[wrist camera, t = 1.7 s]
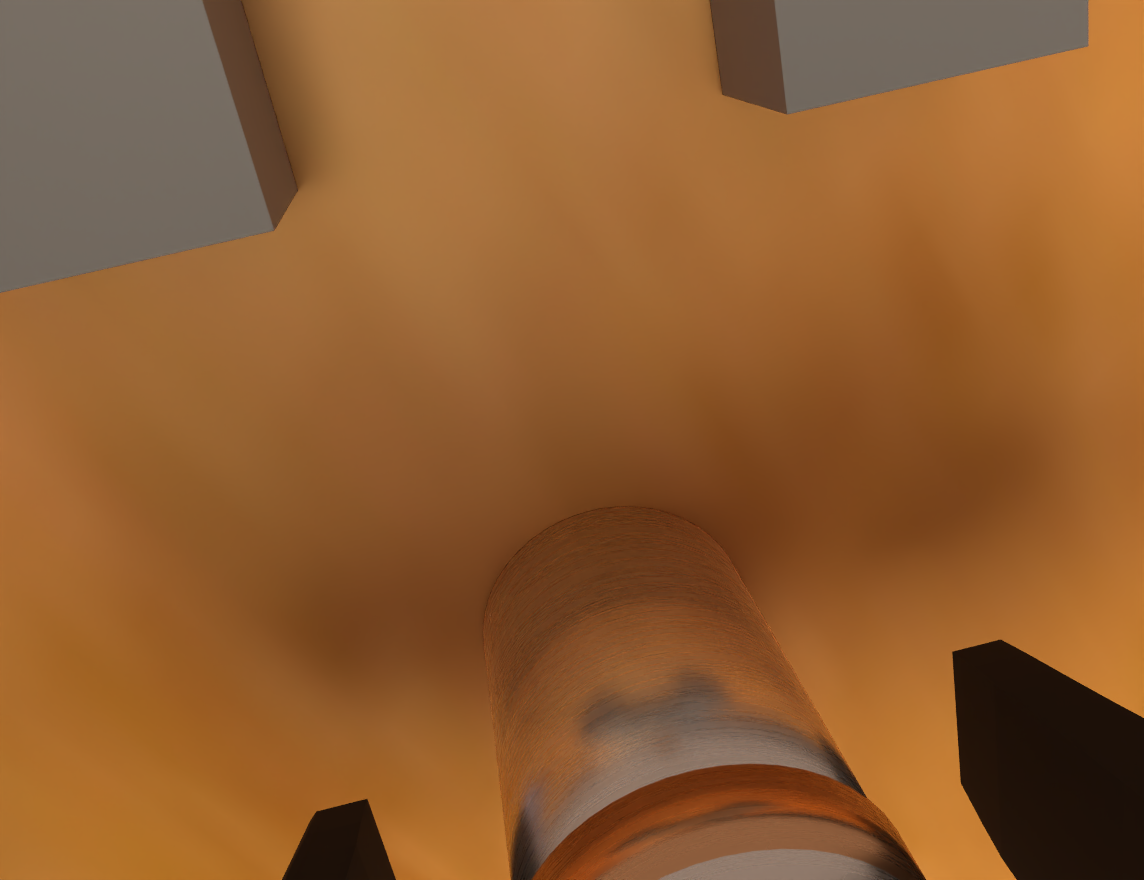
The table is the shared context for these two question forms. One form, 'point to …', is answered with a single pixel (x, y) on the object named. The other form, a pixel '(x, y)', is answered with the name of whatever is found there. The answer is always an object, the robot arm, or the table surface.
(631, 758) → the peg
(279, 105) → the table surface
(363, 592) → the table surface
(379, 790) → the table surface
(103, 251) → the notched board
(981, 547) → the table surface
